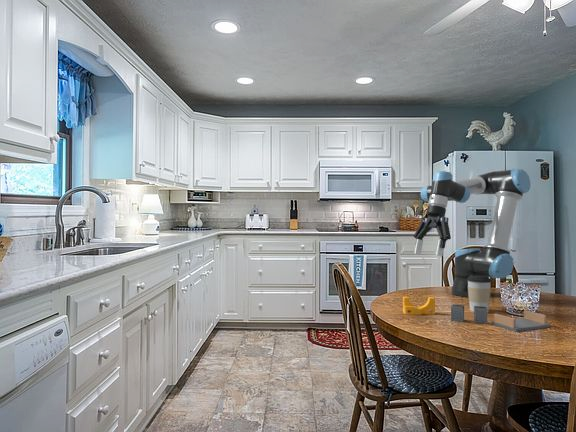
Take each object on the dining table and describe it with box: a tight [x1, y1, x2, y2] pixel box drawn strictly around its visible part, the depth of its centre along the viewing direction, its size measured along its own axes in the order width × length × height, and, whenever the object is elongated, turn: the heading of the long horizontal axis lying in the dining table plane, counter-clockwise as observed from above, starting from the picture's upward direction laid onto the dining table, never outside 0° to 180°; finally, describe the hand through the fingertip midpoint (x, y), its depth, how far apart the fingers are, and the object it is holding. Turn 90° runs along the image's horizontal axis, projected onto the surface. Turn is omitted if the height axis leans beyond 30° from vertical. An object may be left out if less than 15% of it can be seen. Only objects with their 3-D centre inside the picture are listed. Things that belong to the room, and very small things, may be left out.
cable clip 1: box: [450, 303, 465, 323], centre depth 146 cm, size 4×3×6 cm
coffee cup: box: [467, 274, 492, 313], centre depth 161 cm, size 9×9×15 cm
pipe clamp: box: [402, 296, 436, 316], centre depth 156 cm, size 12×4×6 cm, turn 85°
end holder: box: [491, 309, 550, 332], centre depth 139 cm, size 16×10×4 cm, turn 110°
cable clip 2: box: [473, 306, 488, 325], centre depth 143 cm, size 4×3×6 cm
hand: (427, 255), depth 164 cm, fingers open, 13 cm apart
